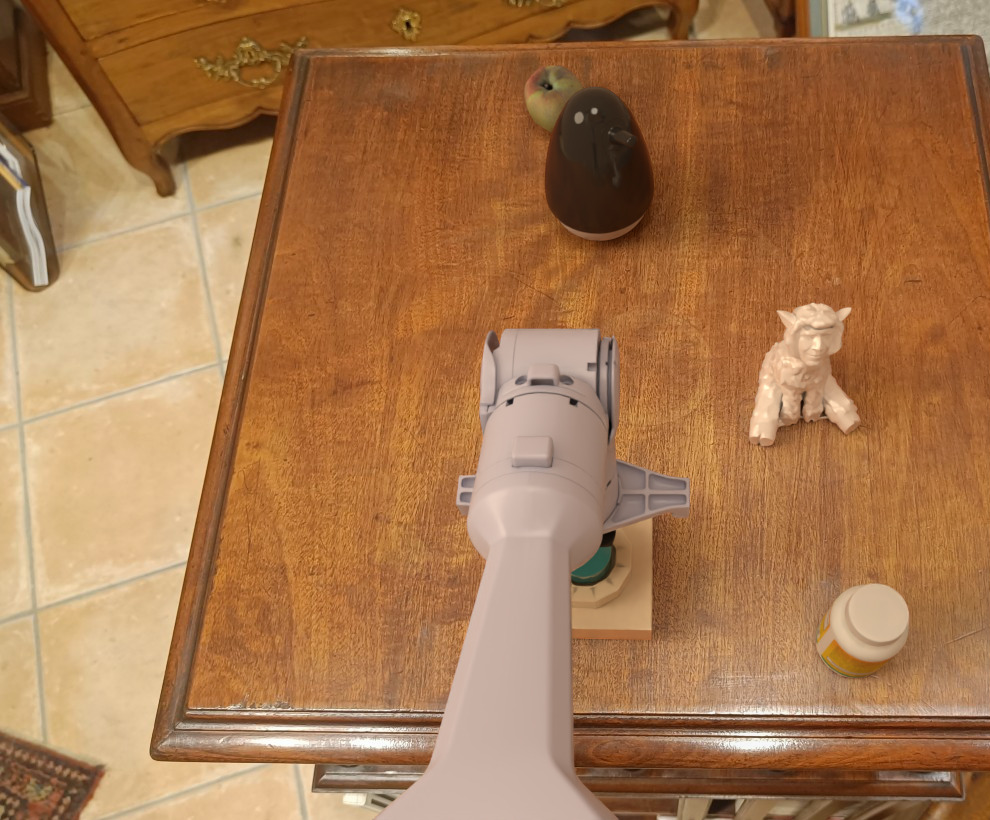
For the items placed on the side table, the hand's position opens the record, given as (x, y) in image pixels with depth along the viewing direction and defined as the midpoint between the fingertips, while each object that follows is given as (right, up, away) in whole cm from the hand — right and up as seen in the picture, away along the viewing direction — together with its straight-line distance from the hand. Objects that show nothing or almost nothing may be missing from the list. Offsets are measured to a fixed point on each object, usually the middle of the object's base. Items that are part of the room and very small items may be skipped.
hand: (582, 540), depth 65 cm
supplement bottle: (+20, -9, +4) cm, 22 cm away
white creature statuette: (+18, +10, +14) cm, 25 cm away
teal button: (0, -2, +4) cm, 4 cm away
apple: (-3, +40, +30) cm, 50 cm away
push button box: (0, -4, +8) cm, 9 cm away
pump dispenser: (+2, +28, +24) cm, 37 cm away
